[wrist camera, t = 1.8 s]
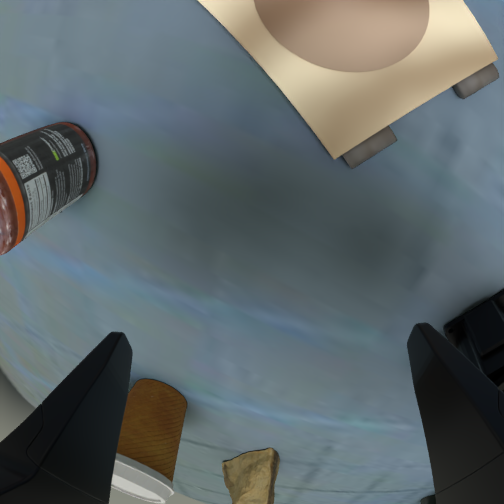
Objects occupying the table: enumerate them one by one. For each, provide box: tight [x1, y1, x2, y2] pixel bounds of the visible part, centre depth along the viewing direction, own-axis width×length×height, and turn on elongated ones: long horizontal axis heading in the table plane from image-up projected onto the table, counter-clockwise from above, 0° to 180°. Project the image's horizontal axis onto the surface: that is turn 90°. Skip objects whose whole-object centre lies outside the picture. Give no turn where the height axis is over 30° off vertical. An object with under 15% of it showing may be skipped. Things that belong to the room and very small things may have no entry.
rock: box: [222, 448, 280, 504], centre depth 35 cm, size 10×8×10 cm
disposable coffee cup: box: [111, 379, 187, 503], centre depth 27 cm, size 10×10×12 cm
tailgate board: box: [198, 0, 499, 169], centre depth 12 cm, size 15×12×1 cm
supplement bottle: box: [0, 122, 96, 255], centre depth 14 cm, size 6×6×11 cm
